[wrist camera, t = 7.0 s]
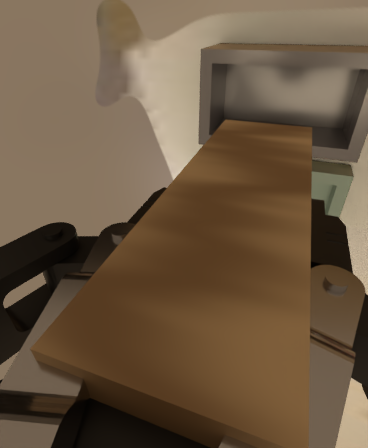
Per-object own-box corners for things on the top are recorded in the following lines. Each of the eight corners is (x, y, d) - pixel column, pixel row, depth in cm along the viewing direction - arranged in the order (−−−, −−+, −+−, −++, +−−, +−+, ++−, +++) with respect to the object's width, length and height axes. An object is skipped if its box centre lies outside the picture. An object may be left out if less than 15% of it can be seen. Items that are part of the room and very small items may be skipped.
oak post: (312, 127, 13) (308, 456, 3) (293, 203, 16) (259, 533, 6) (225, 119, 15) (30, 348, 5) (220, 191, 17) (82, 449, 7)
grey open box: (377, 45, 26) (395, 53, 20) (349, 136, 30) (357, 162, 25) (221, 43, 30) (200, 48, 24) (216, 123, 34) (198, 143, 29)
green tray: (350, 165, 32) (353, 176, 30) (317, 262, 40) (318, 277, 38) (207, 147, 36) (200, 156, 34) (203, 238, 44) (197, 250, 42)
